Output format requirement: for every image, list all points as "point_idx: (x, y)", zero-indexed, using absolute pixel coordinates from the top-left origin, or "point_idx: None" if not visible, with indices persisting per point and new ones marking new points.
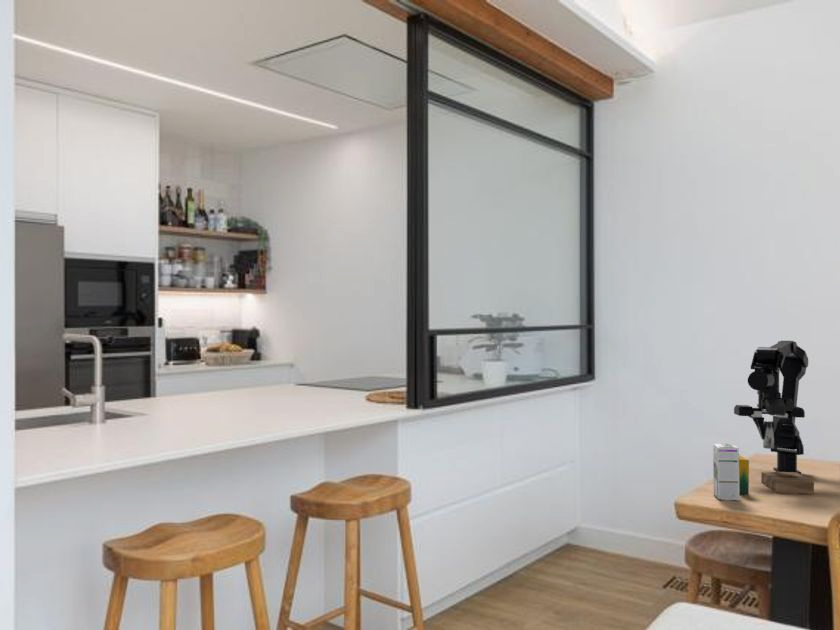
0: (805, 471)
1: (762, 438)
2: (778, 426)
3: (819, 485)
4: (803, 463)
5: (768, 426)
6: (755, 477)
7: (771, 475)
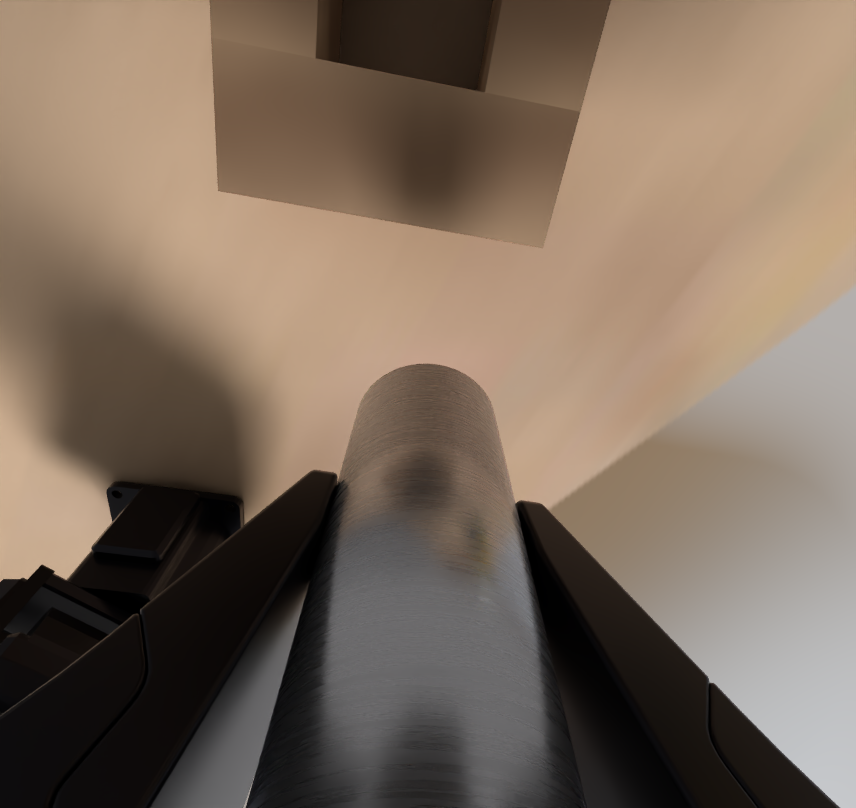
0: (69, 538)
1: (548, 513)
2: (124, 716)
3: (75, 133)
4: None
5: (511, 744)
6: None
7: (563, 29)
